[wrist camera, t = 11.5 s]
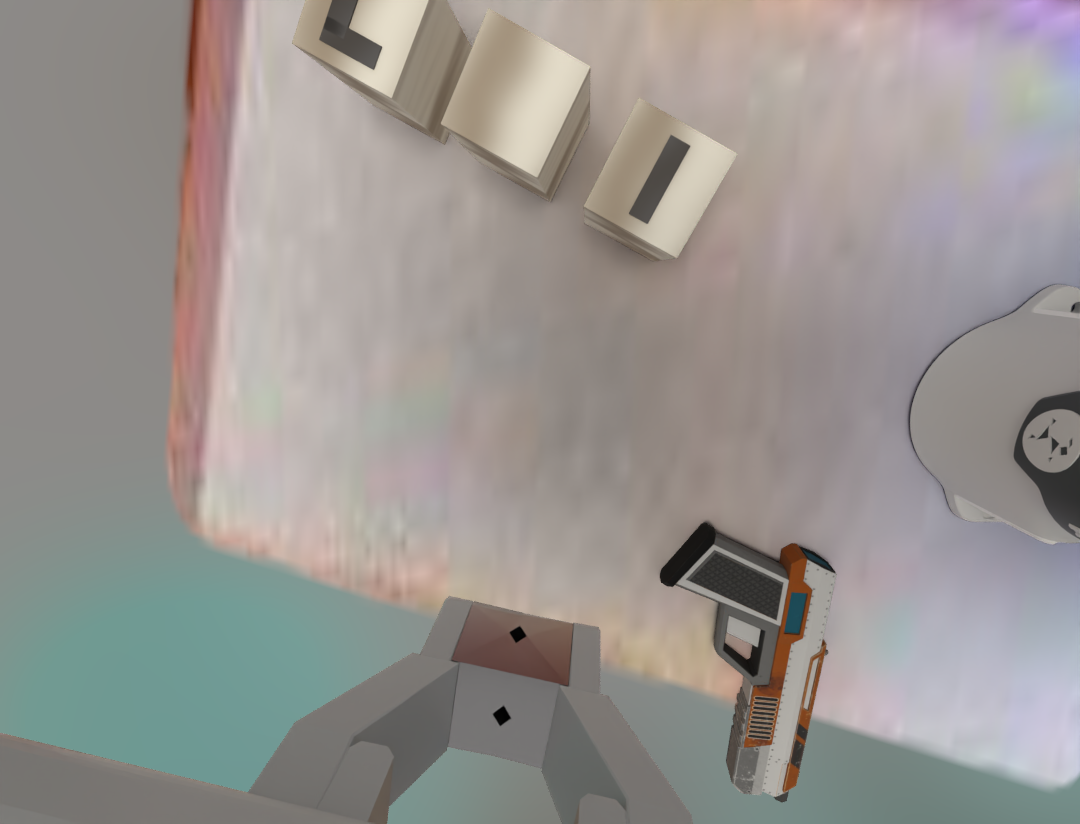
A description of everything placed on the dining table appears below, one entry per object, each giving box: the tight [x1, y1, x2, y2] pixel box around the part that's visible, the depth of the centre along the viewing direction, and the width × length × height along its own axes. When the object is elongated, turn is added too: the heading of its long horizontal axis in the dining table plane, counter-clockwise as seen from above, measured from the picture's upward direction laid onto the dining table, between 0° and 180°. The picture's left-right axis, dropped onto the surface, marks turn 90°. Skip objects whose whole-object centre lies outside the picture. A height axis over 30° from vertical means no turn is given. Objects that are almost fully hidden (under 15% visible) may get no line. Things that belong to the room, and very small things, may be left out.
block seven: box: [292, 0, 472, 145], centre depth 32 cm, size 6×6×11 cm
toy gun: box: [660, 524, 836, 802], centre depth 48 cm, size 3×29×15 cm
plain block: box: [441, 8, 590, 202], centre depth 33 cm, size 6×6×11 cm
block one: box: [584, 98, 737, 261], centre depth 33 cm, size 6×6×11 cm
